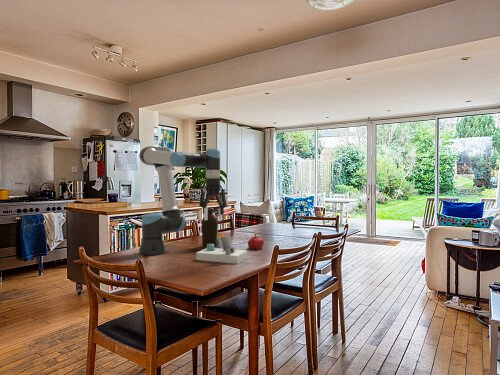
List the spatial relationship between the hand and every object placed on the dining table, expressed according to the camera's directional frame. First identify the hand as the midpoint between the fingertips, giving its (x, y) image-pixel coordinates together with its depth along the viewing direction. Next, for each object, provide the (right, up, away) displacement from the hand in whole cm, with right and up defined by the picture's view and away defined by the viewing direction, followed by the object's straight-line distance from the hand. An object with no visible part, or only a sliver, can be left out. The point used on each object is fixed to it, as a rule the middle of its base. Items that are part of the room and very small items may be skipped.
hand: (213, 220), depth 183 cm
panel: (+5, -21, +2) cm, 22 cm away
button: (-2, -19, +6) cm, 20 cm away
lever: (+9, -16, -3) cm, 19 cm away
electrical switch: (+4, -21, +20) cm, 30 cm away
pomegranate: (+24, -21, +30) cm, 44 cm away
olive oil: (-6, -21, +37) cm, 43 cm away
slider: (+7, -17, +5) cm, 19 cm away
